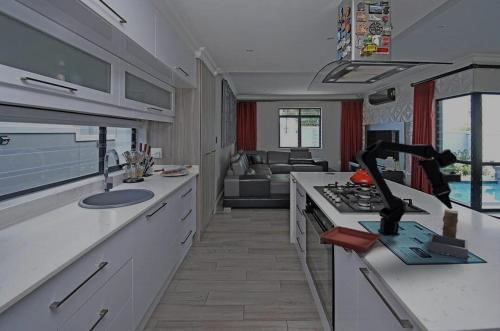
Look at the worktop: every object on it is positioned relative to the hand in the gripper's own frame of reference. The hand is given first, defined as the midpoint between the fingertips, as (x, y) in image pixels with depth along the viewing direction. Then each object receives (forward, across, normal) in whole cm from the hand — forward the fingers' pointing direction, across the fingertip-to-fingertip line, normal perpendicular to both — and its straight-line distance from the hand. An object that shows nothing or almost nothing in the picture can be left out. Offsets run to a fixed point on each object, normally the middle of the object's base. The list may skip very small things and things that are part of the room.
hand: (450, 206), depth 120 cm
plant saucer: (-2, -29, +36) cm, 46 cm away
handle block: (+12, -3, +6) cm, 14 cm away
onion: (+12, +18, +5) cm, 22 cm away
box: (+12, -16, +7) cm, 21 cm away
